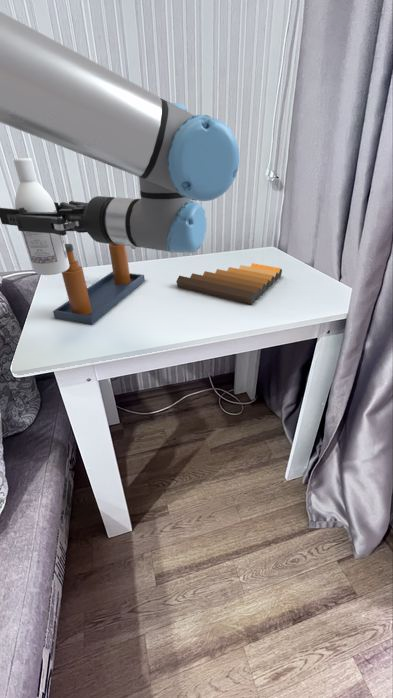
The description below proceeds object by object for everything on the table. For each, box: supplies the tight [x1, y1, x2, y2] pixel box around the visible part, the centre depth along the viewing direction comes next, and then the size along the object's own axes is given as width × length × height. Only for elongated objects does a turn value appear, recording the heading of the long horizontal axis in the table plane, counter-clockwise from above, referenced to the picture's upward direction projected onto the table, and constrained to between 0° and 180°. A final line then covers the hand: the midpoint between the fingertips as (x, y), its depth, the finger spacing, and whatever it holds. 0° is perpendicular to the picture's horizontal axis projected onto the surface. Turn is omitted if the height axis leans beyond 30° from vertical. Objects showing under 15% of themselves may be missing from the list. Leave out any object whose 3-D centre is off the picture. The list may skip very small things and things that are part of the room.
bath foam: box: [13, 157, 69, 276], centre depth 61 cm, size 7×7×20 cm
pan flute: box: [175, 262, 283, 306], centre depth 103 cm, size 25×3×25 cm
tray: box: [52, 271, 146, 326], centre depth 95 cm, size 30×12×2 cm, turn 162°
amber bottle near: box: [61, 243, 92, 315], centre depth 81 cm, size 5×5×18 cm
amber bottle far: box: [108, 244, 131, 285], centre depth 98 cm, size 5×5×18 cm
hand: (18, 211), depth 62 cm, fingers closed on bath foam, 7 cm apart
